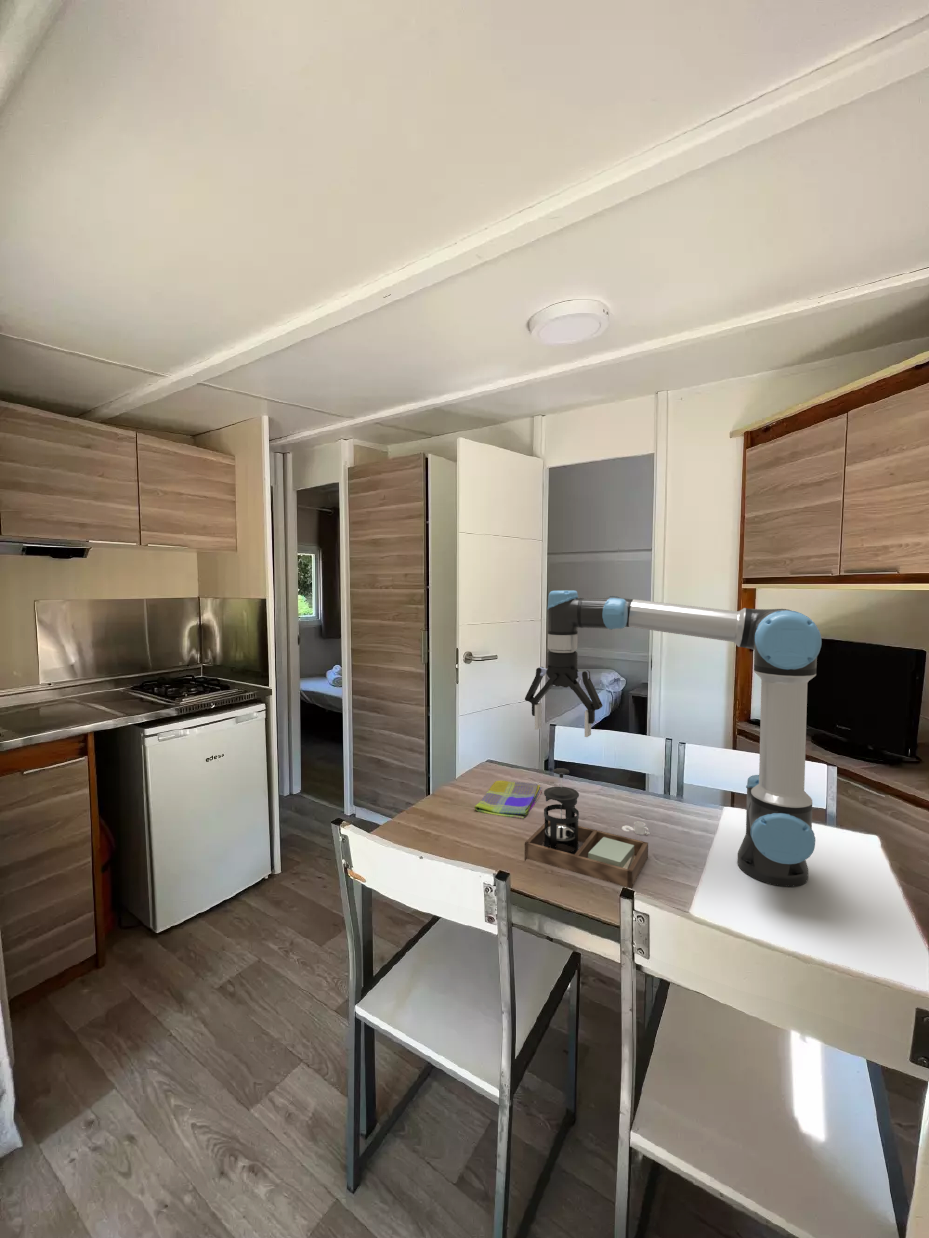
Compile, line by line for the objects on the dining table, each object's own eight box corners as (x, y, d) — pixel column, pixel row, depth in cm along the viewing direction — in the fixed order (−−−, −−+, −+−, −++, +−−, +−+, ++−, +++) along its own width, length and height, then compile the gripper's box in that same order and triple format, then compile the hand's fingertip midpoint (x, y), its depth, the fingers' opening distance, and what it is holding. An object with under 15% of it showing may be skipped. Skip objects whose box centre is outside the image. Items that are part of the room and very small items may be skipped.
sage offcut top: (634, 852, 133) (634, 845, 133) (620, 870, 125) (620, 862, 125) (603, 844, 138) (603, 836, 138) (588, 860, 130) (588, 852, 130)
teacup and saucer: (617, 832, 152) (617, 818, 151) (640, 828, 154) (640, 814, 154) (636, 846, 143) (636, 832, 143) (660, 842, 146) (660, 827, 146)
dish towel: (471, 812, 166) (471, 804, 166) (495, 785, 189) (495, 777, 188) (525, 821, 160) (525, 812, 160) (543, 791, 182) (543, 783, 182)
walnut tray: (647, 861, 135) (648, 842, 135) (631, 893, 121) (631, 872, 121) (549, 835, 149) (549, 818, 149) (524, 861, 136) (524, 842, 135)
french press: (568, 870, 131) (568, 779, 130) (535, 859, 137) (535, 772, 135) (588, 851, 141) (588, 766, 139) (556, 841, 146) (556, 759, 145)
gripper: (615, 651, 132) (614, 735, 133) (524, 646, 145) (525, 722, 147) (606, 655, 126) (605, 742, 127) (512, 649, 139) (512, 728, 140)
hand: (562, 732), depth 137 cm, fingers open, 13 cm apart
